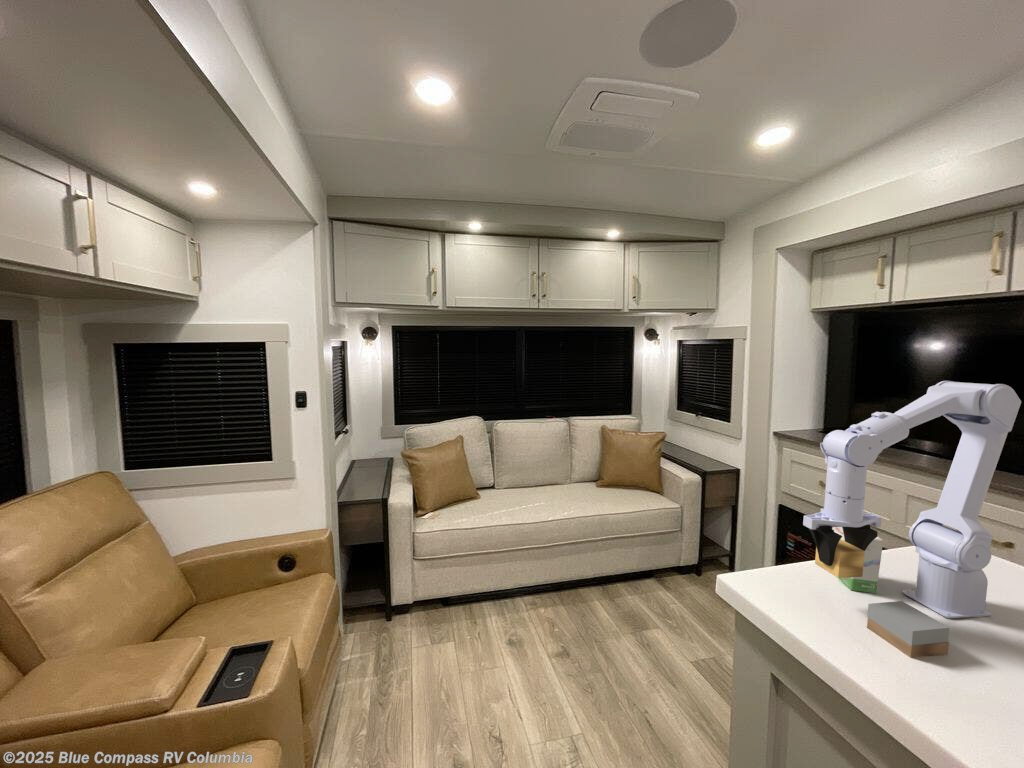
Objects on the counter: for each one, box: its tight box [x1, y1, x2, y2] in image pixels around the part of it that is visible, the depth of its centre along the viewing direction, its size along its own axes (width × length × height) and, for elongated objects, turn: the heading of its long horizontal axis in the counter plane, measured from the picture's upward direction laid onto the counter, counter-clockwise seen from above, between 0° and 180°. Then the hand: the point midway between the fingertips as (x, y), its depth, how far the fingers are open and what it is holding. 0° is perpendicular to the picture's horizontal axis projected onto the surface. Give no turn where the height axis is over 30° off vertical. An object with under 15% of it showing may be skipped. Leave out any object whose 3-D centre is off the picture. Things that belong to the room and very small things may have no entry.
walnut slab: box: [866, 617, 950, 659], centre depth 68 cm, size 7×7×2 cm
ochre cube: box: [814, 539, 865, 579], centre depth 76 cm, size 5×5×5 cm
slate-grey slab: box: [866, 600, 950, 646], centre depth 67 cm, size 7×7×2 cm
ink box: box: [832, 527, 884, 594], centre depth 85 cm, size 9×5×12 cm, turn 168°
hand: (838, 562), depth 76 cm, fingers closed on ochre cube, 5 cm apart
